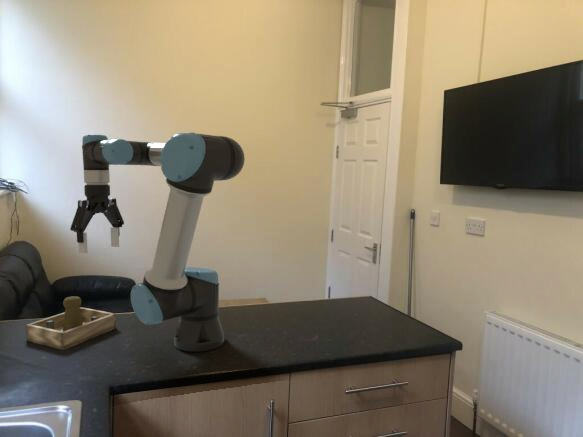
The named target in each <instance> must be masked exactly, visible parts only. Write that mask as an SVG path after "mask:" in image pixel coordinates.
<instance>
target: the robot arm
mask: <svg viewBox="0 0 583 437" xmlns="http://www.w3.org/2000/svg"><path fill="white" fill-rule="evenodd" d="M81 149H82V151H81V152H82V162H83V163H82V165H83V166H82V167H83V182H84V183H85V185H84V191H83V192H84V196H85V197H86V200H85V199H78V201H77V208H76V211H75V215H74V217H73V220H72V222H71V225H70V230H69V231H71V232H74V233H76V242H77V243H78V254H88V235H87V233H88V232H87V231H86V230H87V227H88V226H89V223H91V220H92V219H93V216H95V215H96V214H103V216H105V218H106V219H107V221H108V223H109V224H110V225H111V226H112V227H110V247H113V248H119V247H120V228H123V225H125V221H124V218H123V216H122V214H121V210H120V209H119V206H118V204H117V203H118V202H117V198H115V197H113V198H112V197H111V198H110V197H109V196H111V185H110V184H109V183H111V182H110V181H111V179H110V176H111V175H110V166H112V165H113V166H114V165H115V166H148V167H149V166H151V167H160V169H161V172H162V174H163V176H164V177H165V178H166V179H165V182H166V184H167V185H168V187H169V188H170V189H169V193H168V198H167V202H166V205H165V210H164V215H163V219H162V223H161V229H160V232H159V237H158V240H157V245H156V250H155V253H154V259H153V262H152V267H149V268H148V269H146V271H145V273H144V274H143V275H144V276H143V280H142V282H141V283H140V282H138V283H136V284H135V285H133V286H132V288H131V291H130V303H131V307H132V309H133V313H134V314H135V316H136V317H137V318H138V320H139V321H140V322H141V323H142V324H145V325H148V326H150V325H155V324H162V323H163V322H167V321H169V320H173V319H176V318H179V321H178V324H177V327H176V330H175V333H174V337H173V344H174V345H173V346H174V348H176V349H178V350H180V351H183V352H188V353H189V352H191V353H194V352H195V353H199V352H206V351H207V352H208V351H212V350H215V349H218V348H219V347H221V346H222V345H224V342H225V332H224V331H223V327H222V324H221V320H220V318H219V316H220V315H219V303H220V302H219V300H220V298H219V296H220V295H219V291H220V289H219V287H220V283H219V274H218V272H217V271H216V270H214V269H212V268H211V269H210V268H206V267H205V268H204V267H190V266H189V267H187V262H188V259H189V254H190V251H191V247H192V244H193V240H194V236H195V231H196V228H197V224H198V220H199V216H200V212H201V209H202V205H203V201H204V198H205V197H206V196H207V195H208V196H209V195H210V194H211V193H212V190H213V187H214V184H215V183H214V182H216V181H217V182H218V181H227V180H228V181H229V180H231V179H233V178H235V177H237V175H239V174H240V173H241V172H242V170H243V168H244V165H245V153H244V150H243V148H242V146H241V144H239V143H238V141H236V140H235V139H234V138H232V137H228V136H222V135H219V136H218V135H211V134H203V133H195V132H181V133H176V134H174V135H173V136H171V137H170V138H168V140H167V141H166V142H154V141H153V142H150V141H137V140H136V141H135V140H125V139H122V138H112V139H108V136H106V135H103V134H84V135H83V136H82V145H81Z"/></svg>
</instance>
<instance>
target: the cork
mask: <svg viewBox="0 0 583 437" xmlns="http://www.w3.org/2000/svg"><path fill="white" fill-rule="evenodd" d="M62 305H63V307H64V309H65V310H64V312H65V316H64V325H63V332H64V331H67V326H68V325H74V326H75V327H78V326H80V325H83V322H82V317H81V311H80V307H81V305H82V299H81V297H80V296H78V295H77V296H67V297H65V298H64V300H63V302H62Z"/></svg>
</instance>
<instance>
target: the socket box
mask: <svg viewBox="0 0 583 437" xmlns="http://www.w3.org/2000/svg"><path fill="white" fill-rule="evenodd" d="M80 311H81V317H82V322H83V325H80V326H78V327H75V326H74V325H68V326H67V331H64V332H63V325H64V316H65V311H64V312H61V313H58V314H55V315H52V316H49V317H46V318H44V319H39V320H37V321H33V322H31V323H28V324H25V334H26V341H27V342H31V343H33V344H38V345H42V346H45V347H50V348H54V349H58V350H62V351H64V350H67V349H69V348H71V347H74V346H77V345H79V344H81V343H84V342H86V341H89V340H92V339H94V338H96V337H98V336H101V335H103V334H106V333H108V332H111V331H112V330H115V329H117V316H116V313H113V312H109V311H104V310H98V309H94V308H93V309H92V308H88V307H82V306H80Z"/></svg>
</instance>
